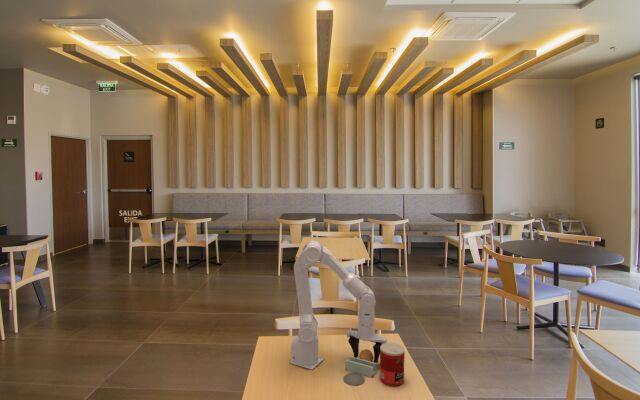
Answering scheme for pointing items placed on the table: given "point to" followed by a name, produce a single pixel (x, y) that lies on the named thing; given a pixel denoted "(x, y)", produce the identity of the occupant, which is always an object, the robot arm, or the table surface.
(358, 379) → the coaster
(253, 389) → the table surface
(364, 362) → the acrylic fence
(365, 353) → the ball
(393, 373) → the canned food
